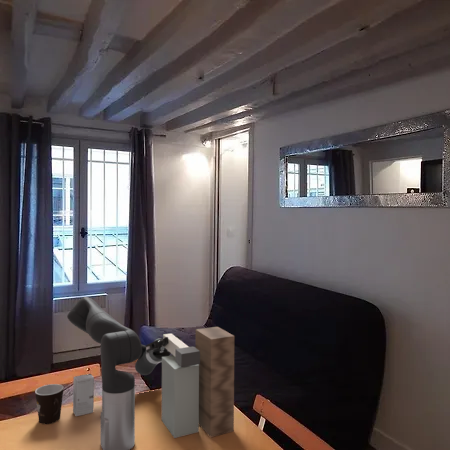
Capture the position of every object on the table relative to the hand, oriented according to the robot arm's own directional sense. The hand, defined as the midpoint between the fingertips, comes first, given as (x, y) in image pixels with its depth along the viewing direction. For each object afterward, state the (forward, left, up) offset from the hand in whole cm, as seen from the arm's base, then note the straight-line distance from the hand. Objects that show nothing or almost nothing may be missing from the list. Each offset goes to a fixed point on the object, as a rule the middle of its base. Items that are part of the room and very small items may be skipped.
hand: (172, 339), depth 137 cm
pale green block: (0, -7, -26) cm, 27 cm away
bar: (0, -5, -4) cm, 7 cm away
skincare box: (-26, +16, -26) cm, 40 cm away
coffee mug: (-37, +14, -26) cm, 48 cm away
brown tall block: (+10, -12, -26) cm, 30 cm away
